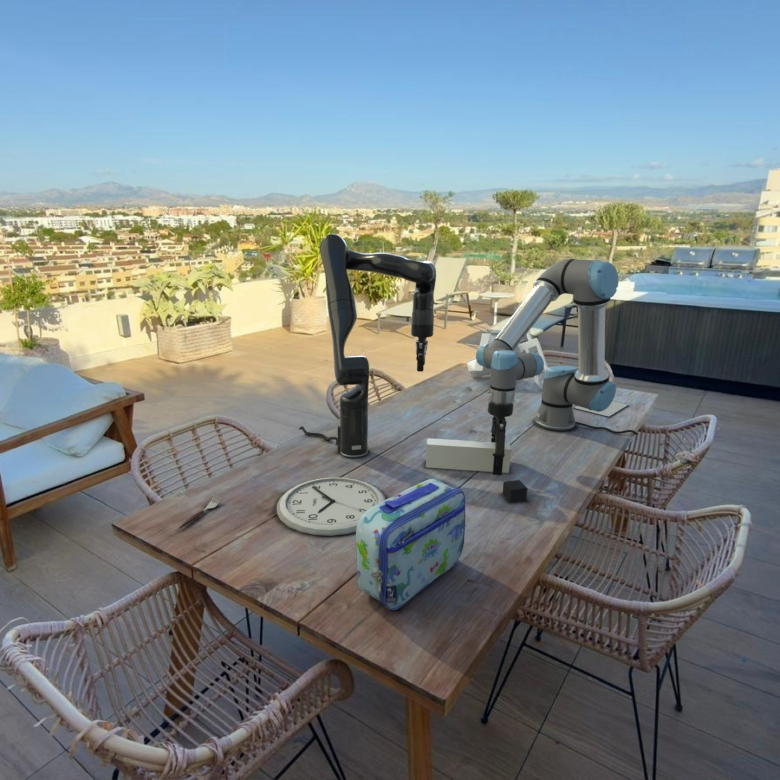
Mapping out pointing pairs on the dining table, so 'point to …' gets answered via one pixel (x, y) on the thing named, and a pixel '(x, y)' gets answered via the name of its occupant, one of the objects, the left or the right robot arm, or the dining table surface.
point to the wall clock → (327, 505)
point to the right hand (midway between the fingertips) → (495, 465)
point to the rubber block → (514, 491)
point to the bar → (464, 455)
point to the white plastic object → (525, 347)
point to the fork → (209, 506)
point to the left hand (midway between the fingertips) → (420, 368)
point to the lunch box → (409, 541)
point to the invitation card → (609, 411)
